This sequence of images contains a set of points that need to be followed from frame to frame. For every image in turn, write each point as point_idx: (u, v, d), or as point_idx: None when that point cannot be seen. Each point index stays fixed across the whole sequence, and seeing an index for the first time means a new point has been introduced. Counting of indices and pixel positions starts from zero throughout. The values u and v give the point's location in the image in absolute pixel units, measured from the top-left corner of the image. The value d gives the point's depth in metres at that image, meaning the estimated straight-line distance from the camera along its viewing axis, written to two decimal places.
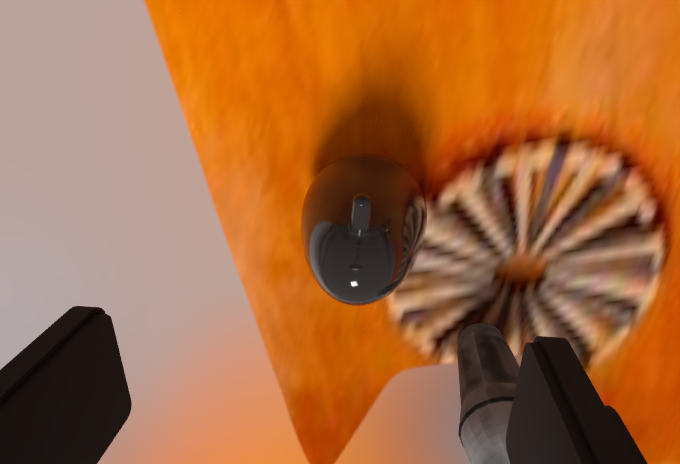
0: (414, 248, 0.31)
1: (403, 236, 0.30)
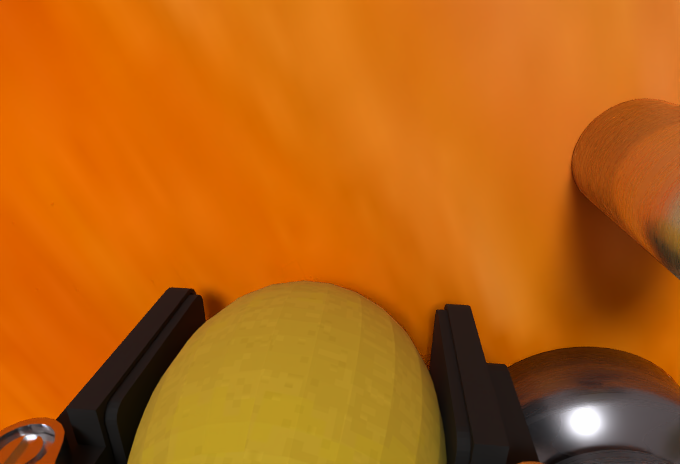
0: None
1: None
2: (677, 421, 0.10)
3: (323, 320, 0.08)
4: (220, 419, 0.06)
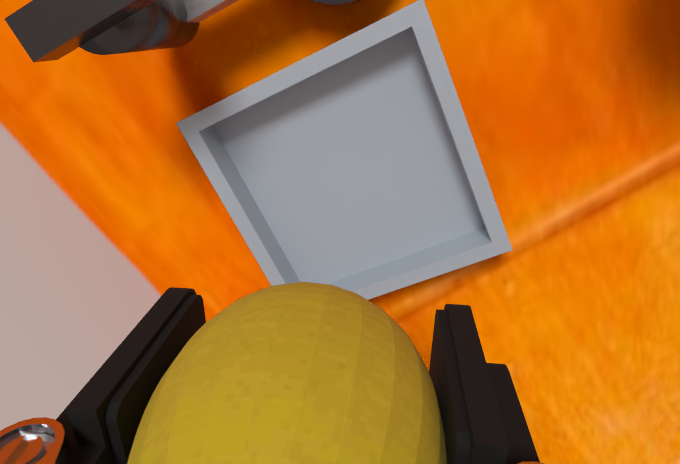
0: None
1: None
2: None
3: (323, 321, 0.08)
4: (220, 421, 0.06)
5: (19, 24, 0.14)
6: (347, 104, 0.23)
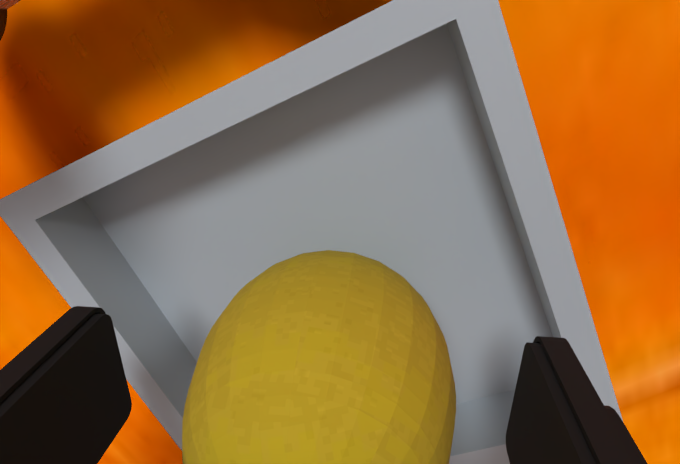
0: None
1: None
2: None
3: (352, 276, 0.09)
4: (273, 347, 0.07)
5: None
6: (321, 167, 0.12)
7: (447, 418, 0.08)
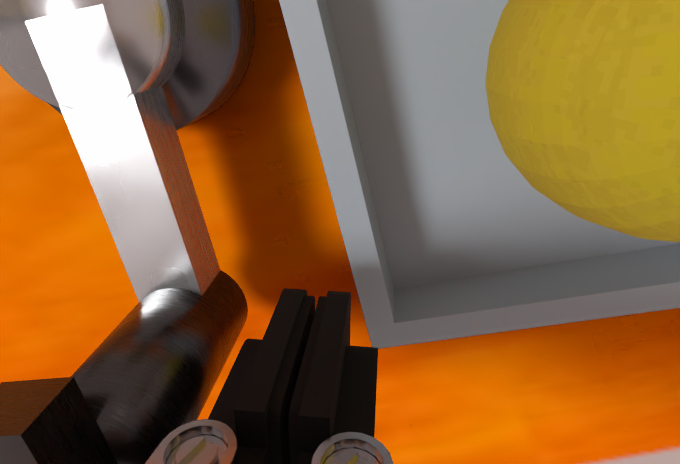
0: None
1: None
2: None
3: (511, 3, 0.08)
4: (541, 88, 0.07)
5: None
6: (418, 51, 0.12)
7: None
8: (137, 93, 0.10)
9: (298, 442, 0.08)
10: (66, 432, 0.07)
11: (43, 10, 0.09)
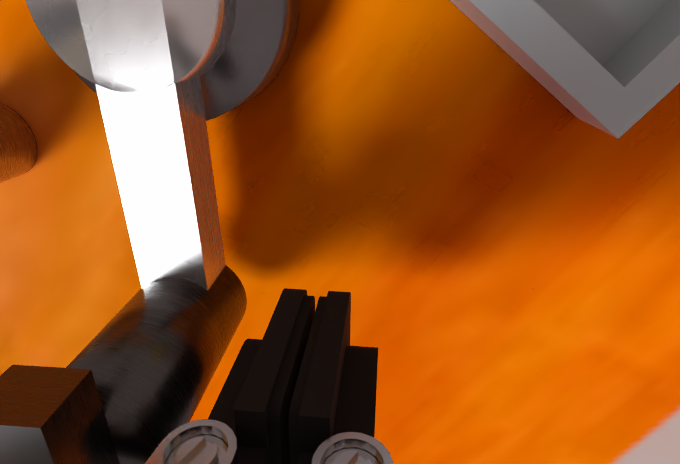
0: None
1: None
2: None
3: None
4: None
5: None
6: None
7: None
8: (178, 82, 0.10)
9: (298, 442, 0.08)
10: (79, 425, 0.07)
11: None
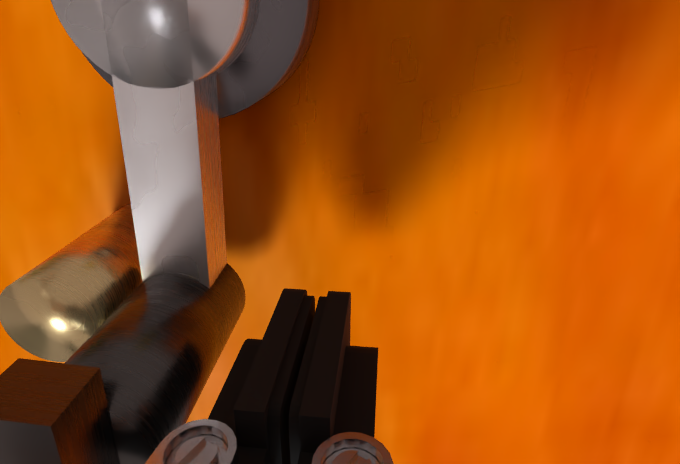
0: None
1: None
2: (110, 76, 0.11)
3: None
4: None
5: None
6: None
7: None
8: (197, 80, 0.10)
9: (298, 442, 0.08)
10: (85, 423, 0.07)
11: None
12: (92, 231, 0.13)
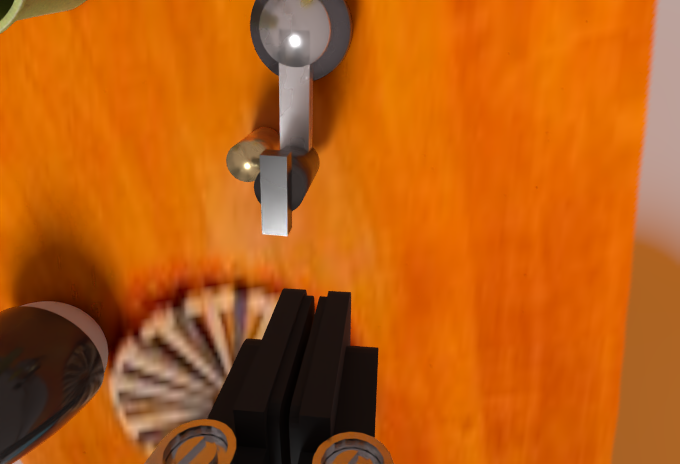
0: (21, 426, 0.31)
1: None
2: (268, 64, 0.28)
3: None
4: None
5: (267, 228, 0.25)
6: None
7: None
8: (310, 64, 0.26)
9: (299, 442, 0.08)
10: (289, 165, 0.24)
11: (287, 26, 0.26)
12: (252, 134, 0.30)
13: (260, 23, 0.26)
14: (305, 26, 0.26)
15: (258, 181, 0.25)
